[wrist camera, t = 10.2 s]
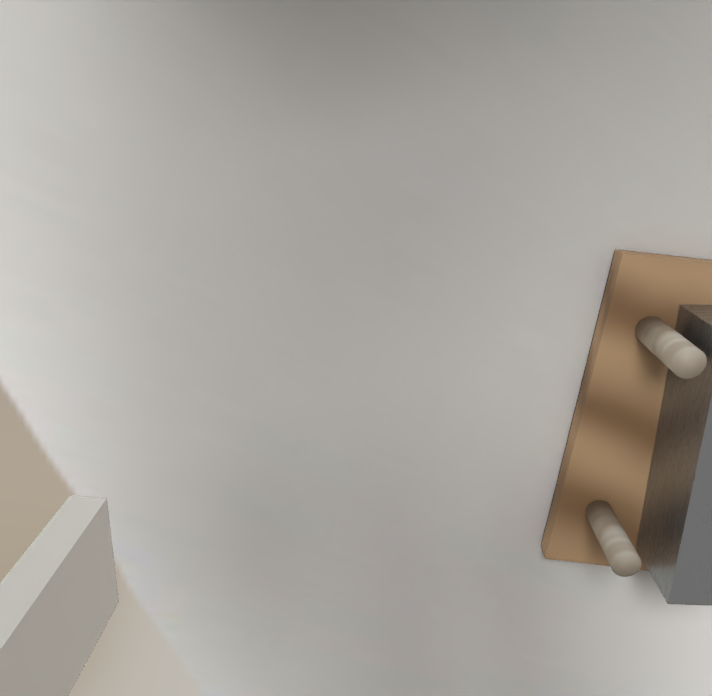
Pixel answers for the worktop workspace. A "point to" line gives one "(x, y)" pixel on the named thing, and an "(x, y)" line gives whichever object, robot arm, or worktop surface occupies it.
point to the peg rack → (623, 408)
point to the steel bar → (682, 477)
